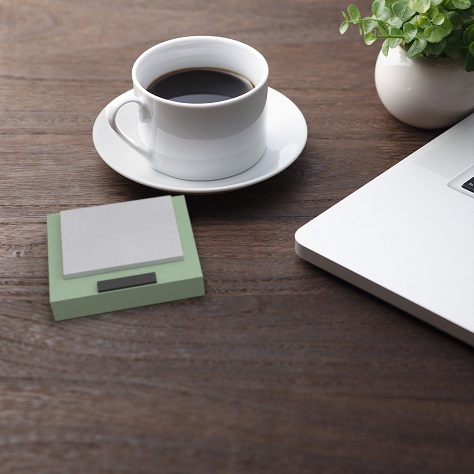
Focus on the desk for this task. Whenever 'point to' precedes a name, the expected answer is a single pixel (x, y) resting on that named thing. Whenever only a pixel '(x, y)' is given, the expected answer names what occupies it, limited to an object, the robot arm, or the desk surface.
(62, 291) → the scale
